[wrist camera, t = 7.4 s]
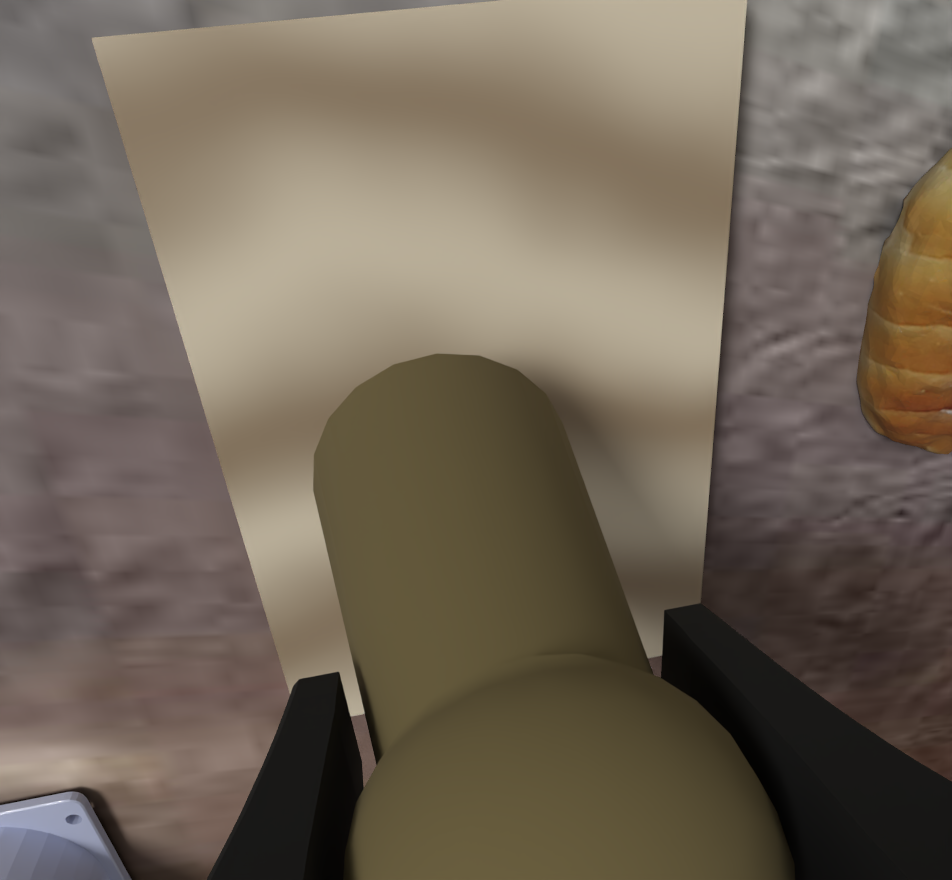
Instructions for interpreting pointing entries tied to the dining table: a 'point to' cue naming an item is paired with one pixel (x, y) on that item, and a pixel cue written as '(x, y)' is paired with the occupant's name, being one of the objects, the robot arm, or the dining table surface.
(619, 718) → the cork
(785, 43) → the dining table surface
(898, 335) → the pastry
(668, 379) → the birch board
